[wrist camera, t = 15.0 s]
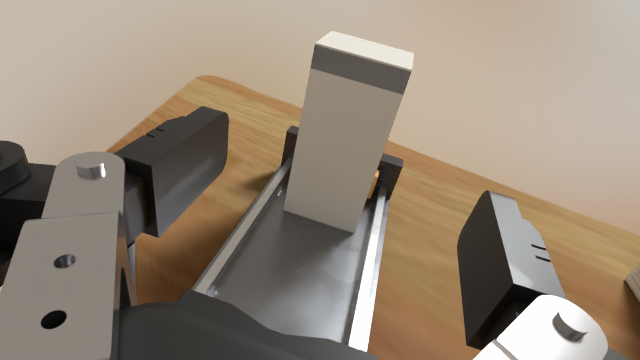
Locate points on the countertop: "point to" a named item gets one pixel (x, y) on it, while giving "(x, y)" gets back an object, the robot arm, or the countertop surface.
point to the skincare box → (634, 281)
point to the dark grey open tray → (304, 262)
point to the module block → (344, 127)
